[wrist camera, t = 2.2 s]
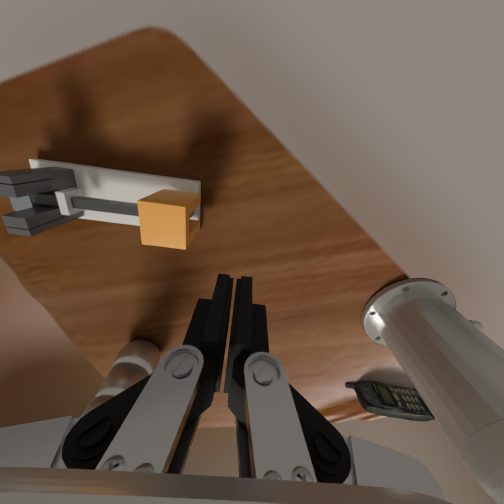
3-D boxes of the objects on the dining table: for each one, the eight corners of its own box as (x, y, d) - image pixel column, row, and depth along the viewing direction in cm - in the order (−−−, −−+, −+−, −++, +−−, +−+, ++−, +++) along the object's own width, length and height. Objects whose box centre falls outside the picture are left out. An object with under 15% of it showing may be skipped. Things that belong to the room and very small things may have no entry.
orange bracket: (200, 194, 23) (185, 207, 18) (200, 228, 24) (185, 249, 19) (163, 188, 22) (136, 200, 17) (165, 224, 24) (142, 244, 19)
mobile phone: (442, 416, 36) (361, 406, 35) (432, 425, 37) (354, 416, 36) (421, 386, 41) (349, 376, 39) (412, 395, 42) (342, 386, 40)
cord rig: (200, 180, 24) (179, 194, 17) (199, 230, 27) (180, 258, 20) (37, 158, 23) (-53, 163, 16) (53, 211, 26) (-19, 234, 19)
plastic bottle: (118, 347, 37) (-14, 539, 19) (139, 327, 34) (13, 523, 16) (150, 364, 38) (58, 554, 21) (172, 347, 36) (90, 542, 18)
